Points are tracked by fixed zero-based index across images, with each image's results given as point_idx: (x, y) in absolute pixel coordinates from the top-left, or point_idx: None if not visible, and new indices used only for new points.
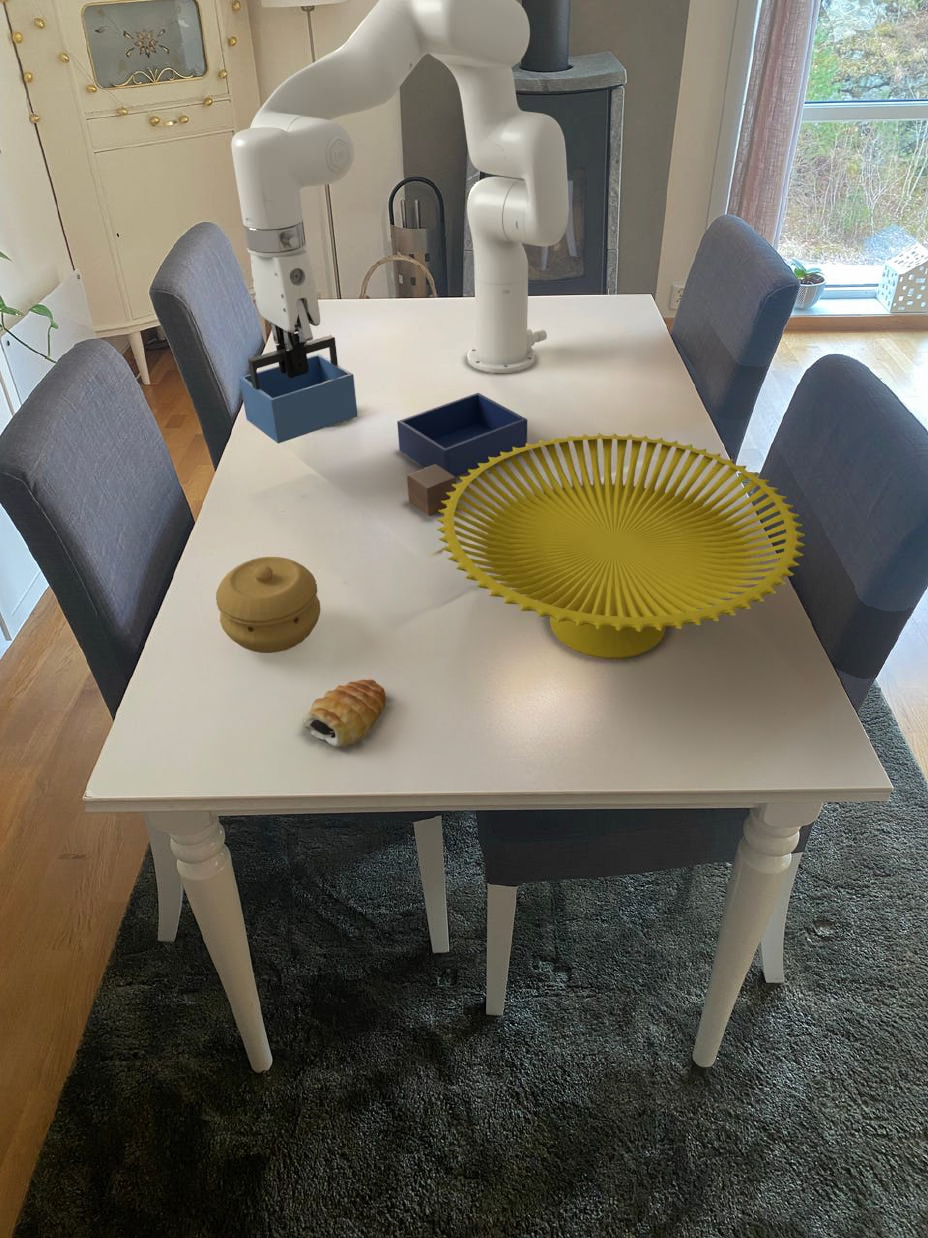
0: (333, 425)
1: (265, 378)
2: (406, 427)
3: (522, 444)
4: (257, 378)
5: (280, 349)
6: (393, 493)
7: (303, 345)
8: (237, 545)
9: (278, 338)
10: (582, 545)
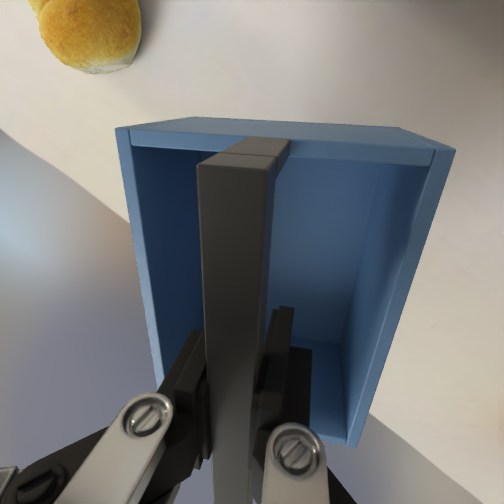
0: (141, 31)
1: (172, 336)
2: None
3: None
4: None
5: (212, 450)
6: (469, 103)
7: (329, 471)
8: None
9: (173, 496)
10: None
